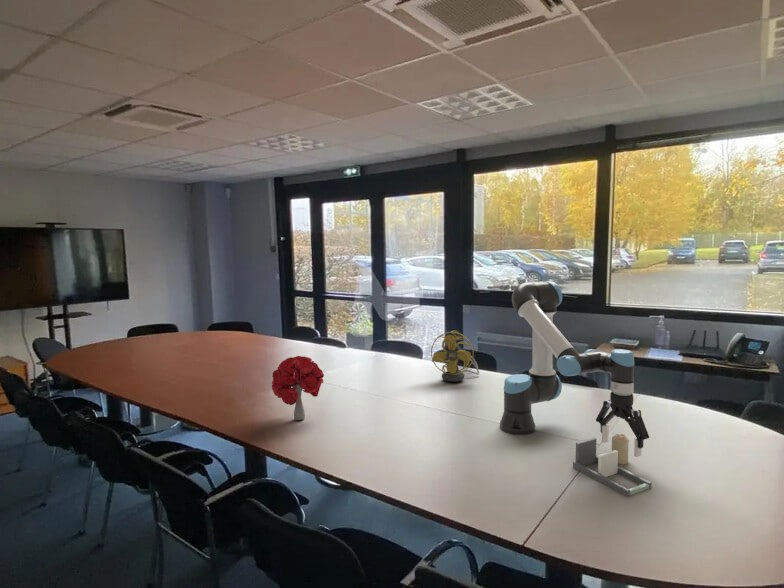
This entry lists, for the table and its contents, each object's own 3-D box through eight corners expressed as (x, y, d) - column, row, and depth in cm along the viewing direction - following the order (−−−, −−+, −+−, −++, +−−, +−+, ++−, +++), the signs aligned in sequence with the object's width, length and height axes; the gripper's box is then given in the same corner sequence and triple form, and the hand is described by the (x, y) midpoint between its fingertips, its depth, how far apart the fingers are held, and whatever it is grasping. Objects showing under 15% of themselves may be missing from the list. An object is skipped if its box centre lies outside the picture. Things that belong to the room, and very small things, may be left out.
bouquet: (299, 430, 202) (296, 365, 198) (263, 420, 214) (260, 358, 211) (331, 415, 220) (329, 354, 216) (296, 406, 232) (293, 349, 229)
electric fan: (429, 381, 271) (429, 331, 268) (442, 367, 301) (441, 322, 298) (473, 384, 262) (473, 333, 259) (481, 370, 292) (481, 324, 289)
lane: (572, 467, 164) (573, 443, 163) (595, 460, 168) (596, 436, 167) (627, 496, 144) (628, 469, 143) (651, 488, 149) (652, 461, 148)
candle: (622, 457, 170) (623, 431, 169) (631, 464, 165) (631, 437, 164) (608, 457, 170) (609, 432, 169) (616, 464, 165) (617, 438, 164)
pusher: (597, 477, 156) (598, 455, 155) (614, 471, 159) (615, 449, 158) (600, 478, 155) (601, 456, 154) (617, 473, 158) (618, 451, 157)
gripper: (586, 385, 174) (586, 438, 176) (647, 404, 152) (645, 464, 154) (600, 382, 178) (599, 434, 179) (661, 400, 155) (660, 459, 157)
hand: (620, 448), depth 167 cm, fingers open, 13 cm apart
